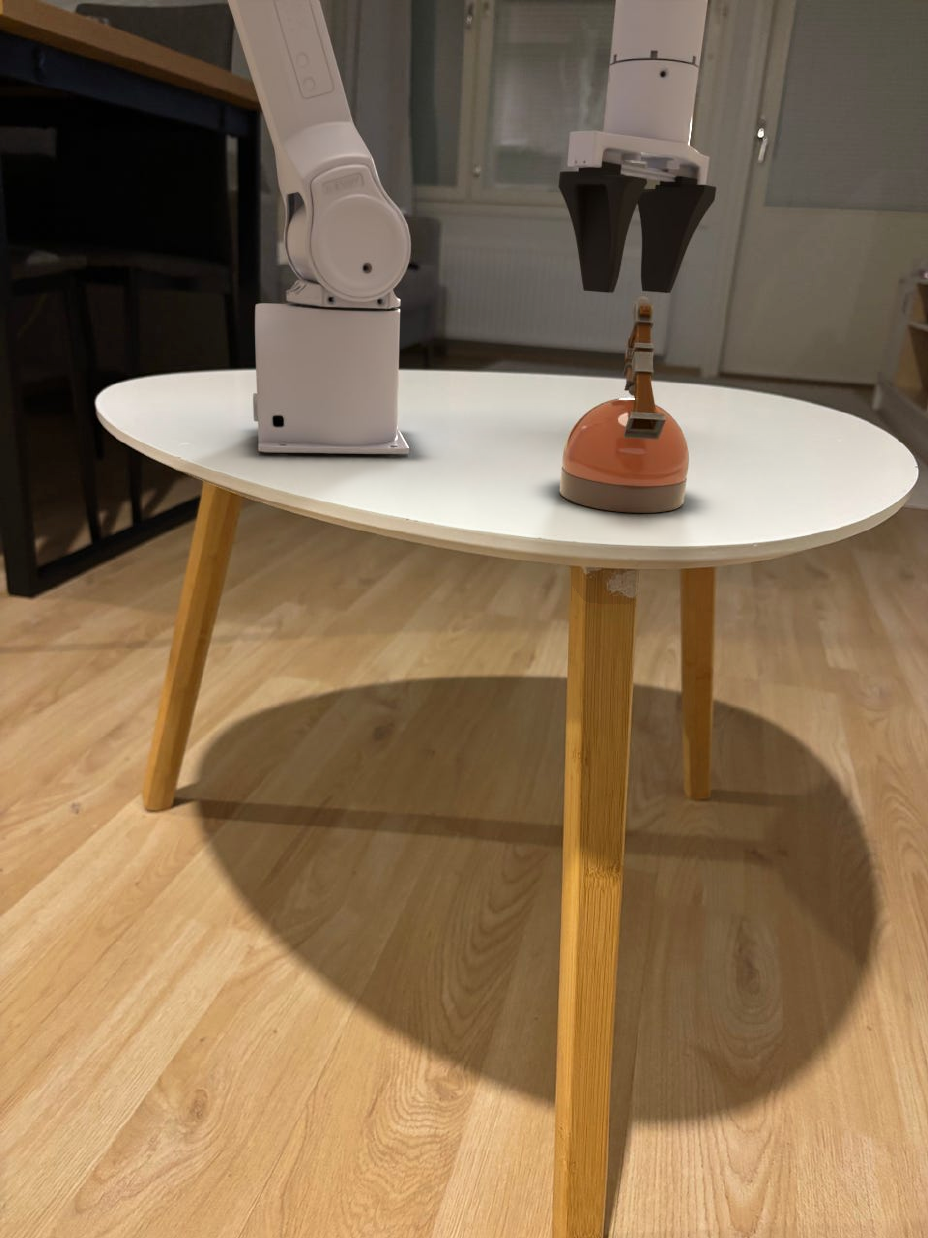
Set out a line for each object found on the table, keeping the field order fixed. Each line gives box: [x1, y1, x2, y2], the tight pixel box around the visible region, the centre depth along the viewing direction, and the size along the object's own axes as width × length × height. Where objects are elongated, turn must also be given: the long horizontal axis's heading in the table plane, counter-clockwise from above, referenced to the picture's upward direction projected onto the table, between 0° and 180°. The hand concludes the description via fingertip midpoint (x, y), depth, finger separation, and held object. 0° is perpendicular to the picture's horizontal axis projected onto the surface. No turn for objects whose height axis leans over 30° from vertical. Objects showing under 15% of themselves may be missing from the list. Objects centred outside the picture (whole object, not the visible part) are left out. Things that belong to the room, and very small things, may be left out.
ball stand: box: [559, 397, 690, 514], centre depth 51 cm, size 7×7×7 cm
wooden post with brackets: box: [622, 295, 666, 440], centre depth 48 cm, size 2×8×4 cm
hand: (628, 291), depth 64 cm, fingers open, 7 cm apart
